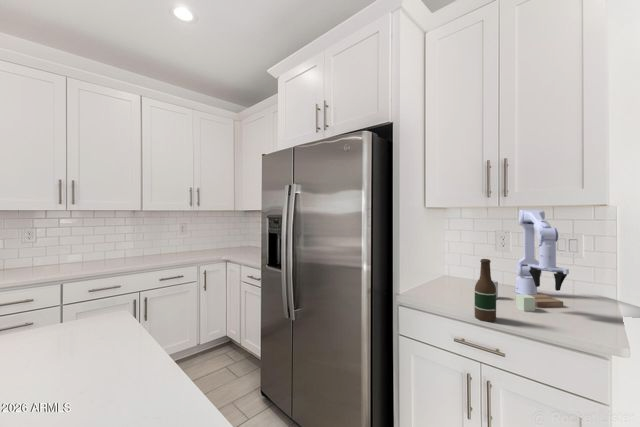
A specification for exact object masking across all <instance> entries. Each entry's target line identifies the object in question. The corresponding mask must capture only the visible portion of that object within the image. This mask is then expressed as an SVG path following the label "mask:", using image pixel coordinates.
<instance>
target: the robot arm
mask: <svg viewBox="0 0 640 427" xmlns="http://www.w3.org/2000/svg"><path fill="white" fill-rule="evenodd" d="M545 218H546V215H545V211H544V210H543V209H542V208H540V209H520V210H519V211H518V224H519V226H521V227H522V229H523V231H522V232H523V234H522V235H523V238H522V239H523V241H522V242H523V243H522V244H523V245H522V246H523V256H522V258H520V259H519V260H517V263H516V270H515V271H516V275H518V276H517V277H516V278H515V290H513V292H515V293H517V294H538V287H540V286H541V276H542V271H545V272H551V273H553V276H554V281H555V282H554V283H555V285H554V286H555V287H554V289H555V290H554V291H557V292H558V291H561V288H562V284H563V283H564V280H565V279H566V278H567V275H569V274H570V269H569V268H563V267H557V253H556V252H557V243H556V242H558V240H559V230H558V228H557V227H552V226H551V224H550V223H549V222H548V221H547V220H545ZM535 232H536V239H537V245H538V255H539V256H538V259H536V258H535Z"/></svg>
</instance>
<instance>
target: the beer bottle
mask: <svg viewBox="0 0 640 427" xmlns="http://www.w3.org/2000/svg"><path fill="white" fill-rule="evenodd" d="M491 263H492V262H491V260H490V259H488V258H481V259H480V274H479V278H478V279H479V280H478V279H477V280H476V282H475V286H474V318H475V319H477V320H478V321H480V322H487V323H493V322H495V321H496V319H497V299H496V287H495V284H494V283H493V281H492V280H493V279H492V276H491Z"/></svg>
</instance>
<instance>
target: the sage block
mask: <svg viewBox="0 0 640 427" xmlns="http://www.w3.org/2000/svg"><path fill="white" fill-rule="evenodd" d="M517 308H518V310H520V311H521V312H524V311H527V312H536V307H535V297H532V296H530V295H527V294H519V293H517V294H515V309H517Z"/></svg>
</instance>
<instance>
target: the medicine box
mask: <svg viewBox="0 0 640 427" xmlns="http://www.w3.org/2000/svg"><path fill="white" fill-rule="evenodd" d="M478 280H479V278H478V279H477V281H478ZM491 280H492V281H493V283H494V284H495V287H496V300H497V299H498V296H499V294H498V293H499V287H498V286H499V282H498V280H495V279H491Z"/></svg>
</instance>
